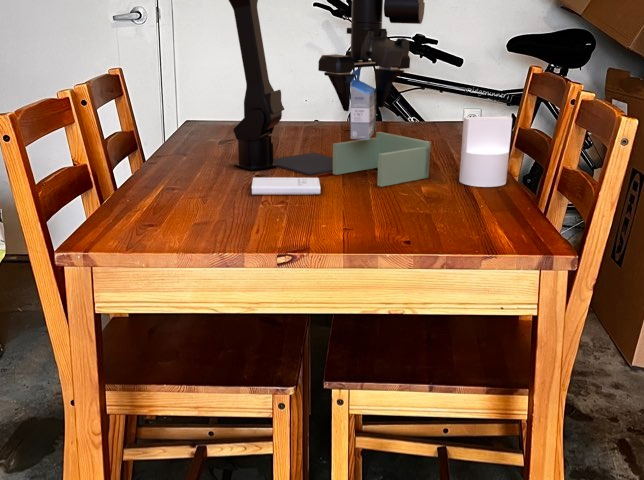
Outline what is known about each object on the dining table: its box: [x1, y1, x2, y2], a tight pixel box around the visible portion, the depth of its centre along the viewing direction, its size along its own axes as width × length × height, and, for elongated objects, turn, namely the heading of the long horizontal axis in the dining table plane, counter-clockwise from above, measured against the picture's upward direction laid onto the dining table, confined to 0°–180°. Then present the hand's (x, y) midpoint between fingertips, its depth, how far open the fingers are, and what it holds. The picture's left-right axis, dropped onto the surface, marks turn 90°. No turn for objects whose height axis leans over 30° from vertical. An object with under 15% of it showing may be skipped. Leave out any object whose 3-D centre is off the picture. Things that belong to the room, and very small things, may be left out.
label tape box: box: [350, 67, 377, 140], centre depth 158 cm, size 9×4×12 cm, turn 167°
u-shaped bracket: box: [332, 131, 432, 188], centre depth 161 cm, size 13×14×7 cm
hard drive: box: [251, 177, 322, 196], centre depth 151 cm, size 2×8×12 cm
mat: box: [272, 152, 333, 176], centre depth 172 cm, size 14×16×1 cm
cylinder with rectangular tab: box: [458, 115, 513, 188], centre depth 155 cm, size 9×9×12 cm
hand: (363, 109), depth 158 cm, fingers closed on label tape box, 8 cm apart
